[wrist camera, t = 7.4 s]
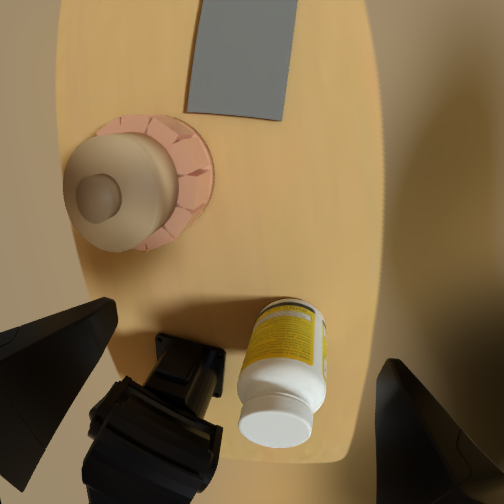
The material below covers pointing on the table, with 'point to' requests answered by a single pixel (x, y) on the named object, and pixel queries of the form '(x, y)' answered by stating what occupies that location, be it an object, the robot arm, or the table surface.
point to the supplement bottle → (283, 374)
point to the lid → (120, 189)
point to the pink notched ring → (187, 165)
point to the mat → (242, 58)
